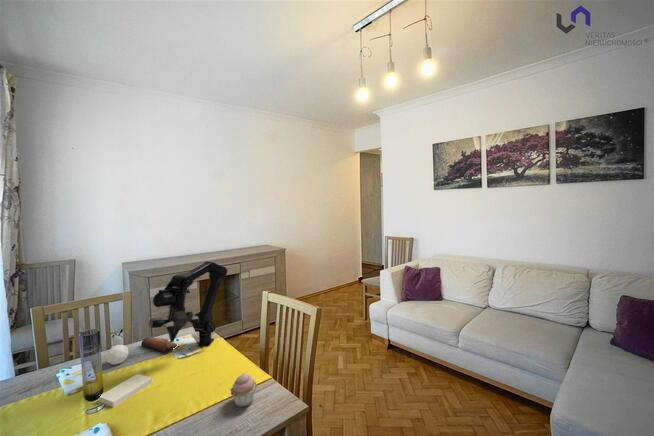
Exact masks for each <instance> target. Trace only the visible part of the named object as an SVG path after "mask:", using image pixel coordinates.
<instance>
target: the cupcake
mask: <svg viewBox="0 0 654 436" xmlns="http://www.w3.org/2000/svg"><path fill="white" fill-rule="evenodd" d="M257 388H258V385H257V381H255V379H254V378H253V376H252V375H250V374H246V373H245V372H243V373H242V374H241V375H239V376H237V378H236V380H235V381H234V382H233V384H232V387H231V388H230V389H229V390H230V395H231V396H232V398H233V402H234V404H235V406H237V407H240V408H243V407H247V406H249V405H251V404H252V402H253V401H254V398H255V397H254V396H255V394H256V391H257ZM250 403H251V404H250Z"/></svg>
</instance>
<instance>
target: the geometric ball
mask: <svg viewBox="0 0 654 436" xmlns="http://www.w3.org/2000/svg"><path fill="white" fill-rule="evenodd" d="M129 354H130V353H129V348H128V346H126V345H124V344H117V345H114V346H112V347H111V348H110V349H109V350H108V351H107V354H106V357H105V358H106V361H107V363H108V364H110V365H119V364H122V363H123V362H125V360H126V359H127V358H128V356H129Z"/></svg>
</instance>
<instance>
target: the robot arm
mask: <svg viewBox="0 0 654 436" xmlns="http://www.w3.org/2000/svg"><path fill="white" fill-rule="evenodd" d="M206 273H208V278H209V285H208V287H207V291H206V294H205V298H204V300H203V303H202V307H201V310H200V311H199V312H198V313H195V314H194V313H193V311H187V312H186V307H185V304H186V297H187V294H190V293H191V291H190V290H189V289H188V288H189V287H191V286H192V285H193V283H194V281H195V280H196V279H198V278H200V277H202V276H204V275H205V274H206ZM227 274H228V270H227V268H226V267H225V266H222V265H220V264H217V263H216V262H214V261H204V262H203V263H202V264H199V265H198V266H196V267H194V268H193V269H190V270H189V271H187V272H182V273H179V274H175V275H173V276H172V277H171V279H170V281H169V282H168V283H167V284H166V286H165V288H164V289H159V290H158V292H157V293H156V294H155V295H154V297H153V298H152V303H153V306H154V307H156V308H161V307H168V309H169V310H168V314H167V316H166V319H164V318H162V317H152V318H150V319H149V320H148V327H150V328H152V329H155V328H157V329H158V328H161V327H164V328H166V330H167V332H168V333H167V334H168V338H169V341H171V342H173V343H174V342H175V339H176V337H177V336H178V333H179V331H180V330H181V329H182V328H183V327H186V325H187V324H188V322H190V324H191V325H192V328H193V331H194V332H196V333H198V342H197V343H196V345H197V344H198V345H199V346H198V347H209V346H211V344H212V343H213V342H214V341H215V338H212V336H213V335H212V334H213V333H214V332H215V330H216V328H217V325H216V324H214V323H213V313H212V310H213V309H214V305H215V301H216V298H217V295H218V292H219V288H220V285H221V284H222V283H223V281H225V280H226V277H227Z"/></svg>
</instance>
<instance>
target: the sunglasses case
mask: <svg viewBox="0 0 654 436" xmlns="http://www.w3.org/2000/svg"><path fill="white" fill-rule="evenodd" d="M141 346H142V347H146V348H151V349H153V350H156V351H159V352H161V353H165V354H166V355H167V354H170V353H172V351H174V350H173V348H175V347H176V346H177V343H175V342H174V341H173V342H171V341H170V340H168V339H167V338H163V337H162V338H161V337H147V338H144V339H142V341H141Z"/></svg>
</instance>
